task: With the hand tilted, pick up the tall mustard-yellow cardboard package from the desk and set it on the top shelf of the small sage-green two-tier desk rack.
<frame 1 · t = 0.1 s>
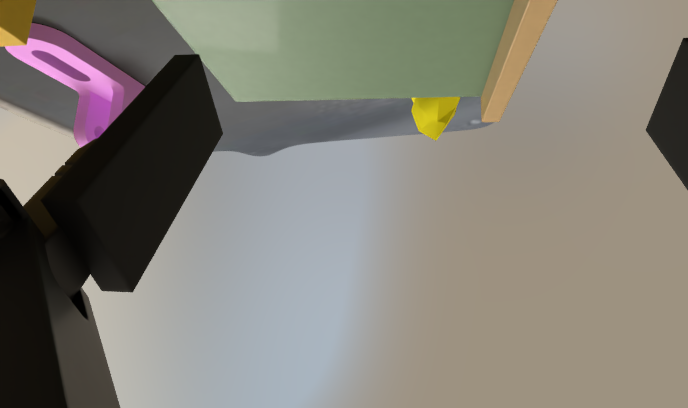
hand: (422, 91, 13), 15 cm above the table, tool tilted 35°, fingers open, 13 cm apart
bracket: (82, 61, 43), on the table
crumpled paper: (434, 60, 41), on the table
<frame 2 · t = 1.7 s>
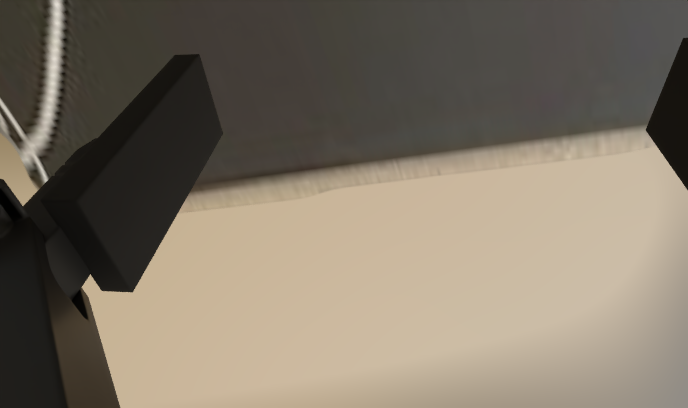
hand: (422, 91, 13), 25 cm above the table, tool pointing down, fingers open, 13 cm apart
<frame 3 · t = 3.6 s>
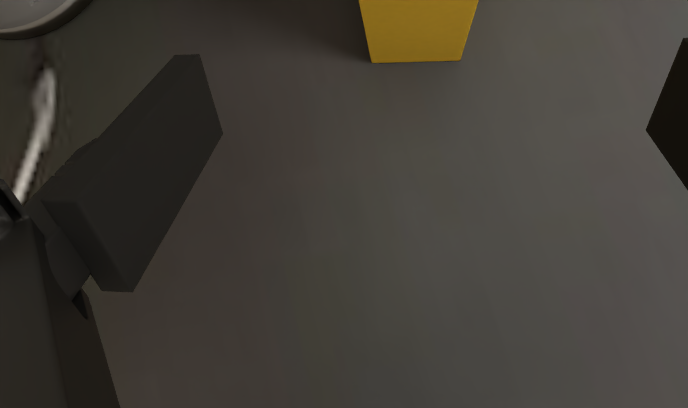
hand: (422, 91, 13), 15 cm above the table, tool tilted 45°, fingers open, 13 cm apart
package: (416, 0, 29), on the table
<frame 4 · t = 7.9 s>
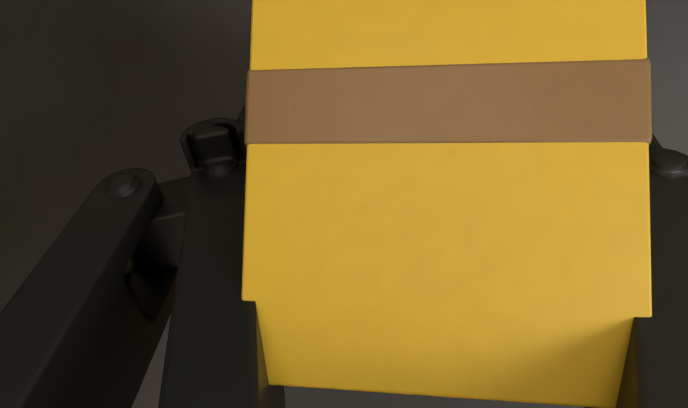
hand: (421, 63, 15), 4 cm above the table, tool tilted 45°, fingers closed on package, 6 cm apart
package: (417, 188, 18), on the table, touching gripper
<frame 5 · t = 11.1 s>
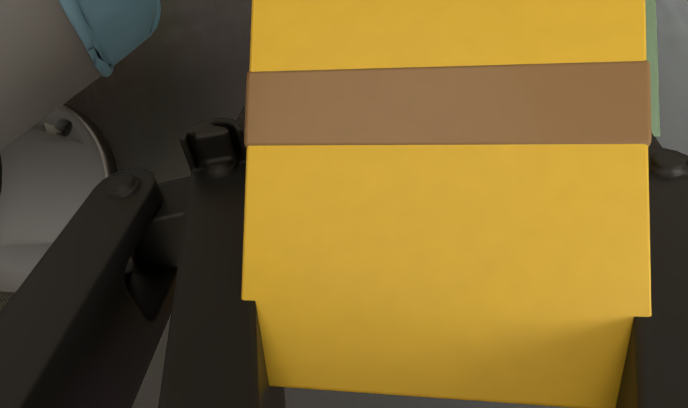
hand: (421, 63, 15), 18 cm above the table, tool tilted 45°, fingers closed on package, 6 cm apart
desk rack: (480, 54, 33), on the table
package: (417, 189, 18), point 14 cm above the table, touching gripper
when the fingers open (13 cm above the table, at t = 14.8 s): package stays where it is, resting on desk rack.
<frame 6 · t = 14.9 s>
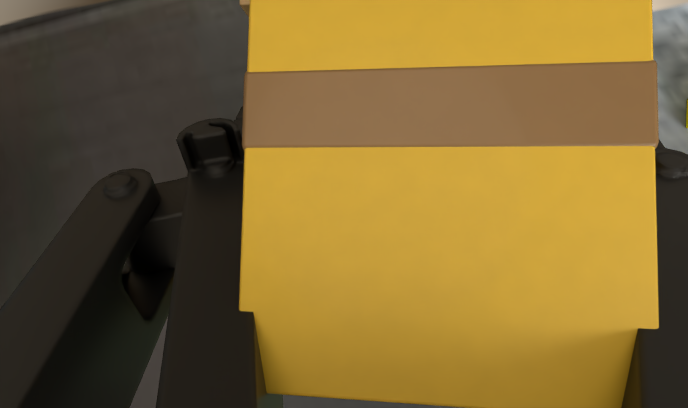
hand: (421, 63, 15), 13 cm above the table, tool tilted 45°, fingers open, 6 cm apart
package: (417, 190, 18), point 9 cm above the table, touching desk rack
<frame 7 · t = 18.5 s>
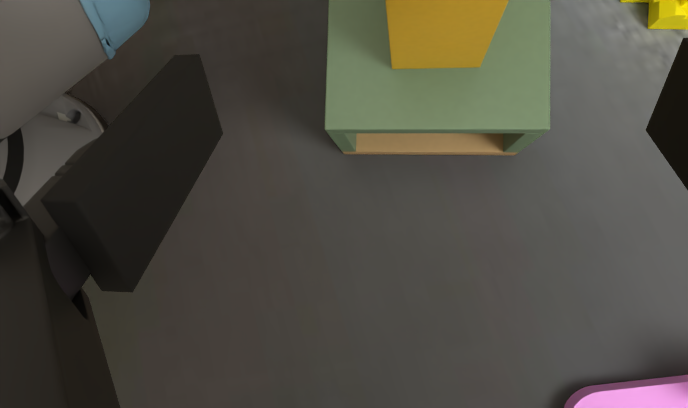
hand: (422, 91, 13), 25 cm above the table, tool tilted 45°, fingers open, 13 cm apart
desk rack: (429, 60, 38), on the table
package: (436, 7, 29), point 9 cm above the table, touching desk rack
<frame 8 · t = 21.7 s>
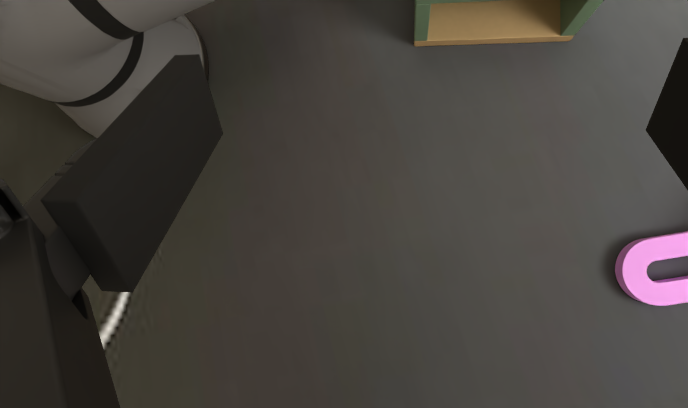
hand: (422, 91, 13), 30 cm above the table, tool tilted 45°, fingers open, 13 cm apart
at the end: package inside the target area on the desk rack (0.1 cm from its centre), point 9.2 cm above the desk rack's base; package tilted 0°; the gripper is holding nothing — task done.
